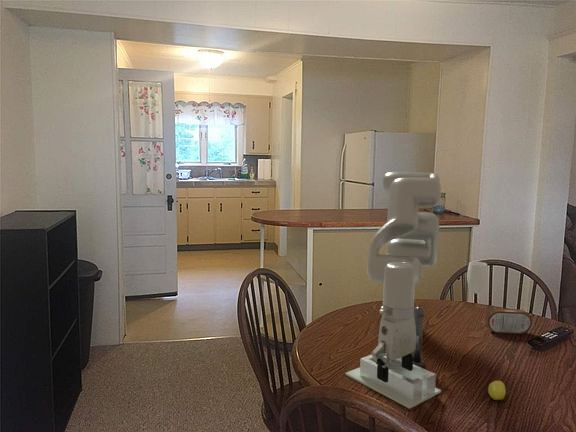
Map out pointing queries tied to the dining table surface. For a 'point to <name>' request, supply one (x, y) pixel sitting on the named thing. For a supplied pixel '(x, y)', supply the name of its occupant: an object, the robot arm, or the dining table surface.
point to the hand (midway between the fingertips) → (394, 374)
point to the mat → (356, 376)
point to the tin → (508, 321)
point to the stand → (419, 315)
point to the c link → (400, 379)
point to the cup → (477, 276)
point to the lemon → (497, 390)
